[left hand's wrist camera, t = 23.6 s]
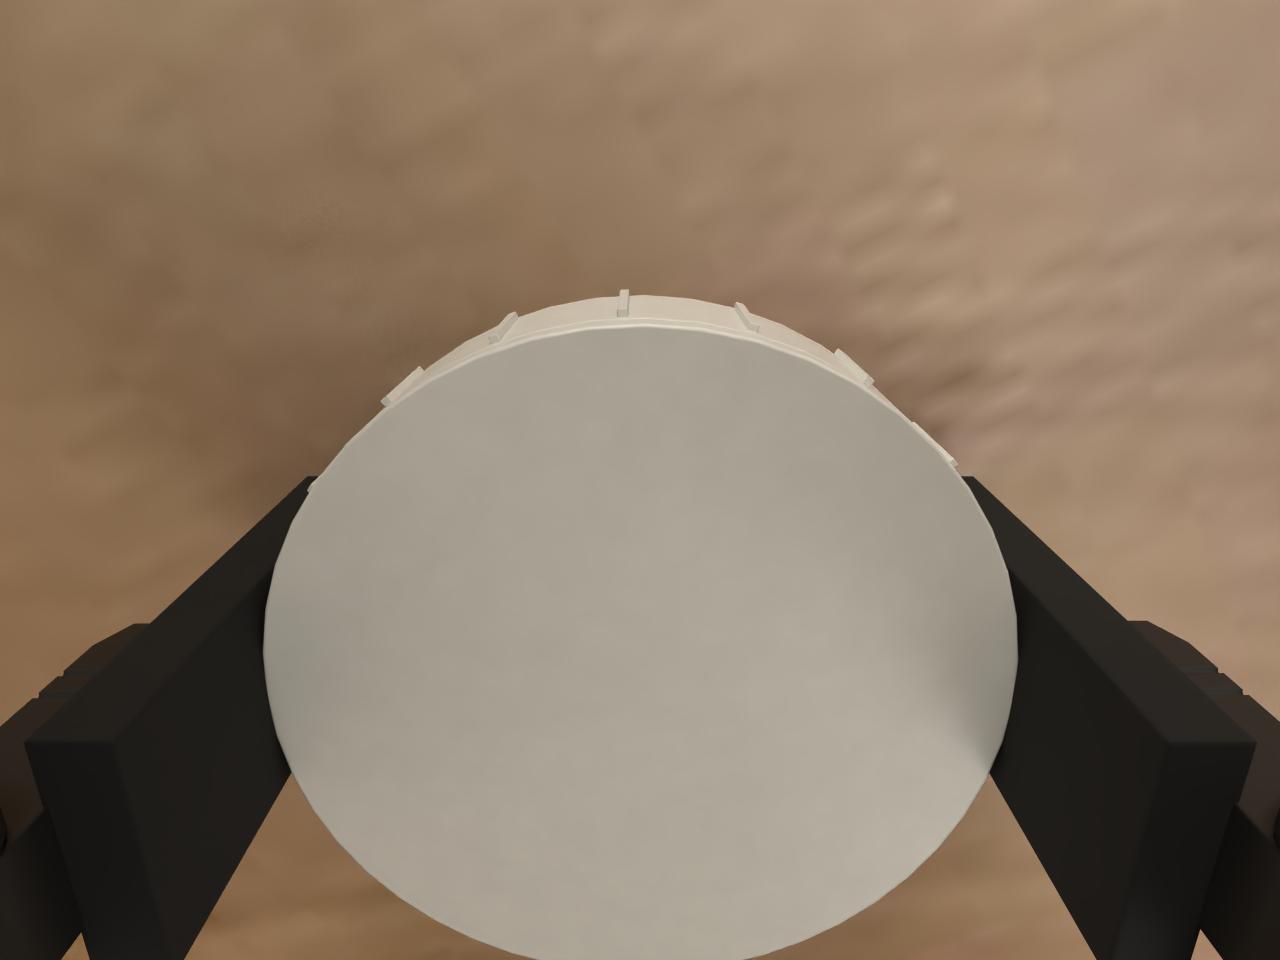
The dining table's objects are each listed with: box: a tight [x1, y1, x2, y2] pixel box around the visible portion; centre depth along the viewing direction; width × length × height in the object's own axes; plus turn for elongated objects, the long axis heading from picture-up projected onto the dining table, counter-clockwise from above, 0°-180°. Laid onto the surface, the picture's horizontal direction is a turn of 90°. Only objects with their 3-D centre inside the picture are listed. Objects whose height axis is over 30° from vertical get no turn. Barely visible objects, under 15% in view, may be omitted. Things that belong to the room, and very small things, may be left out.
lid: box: [263, 289, 1018, 960], centre depth 11 cm, size 9×9×2 cm
